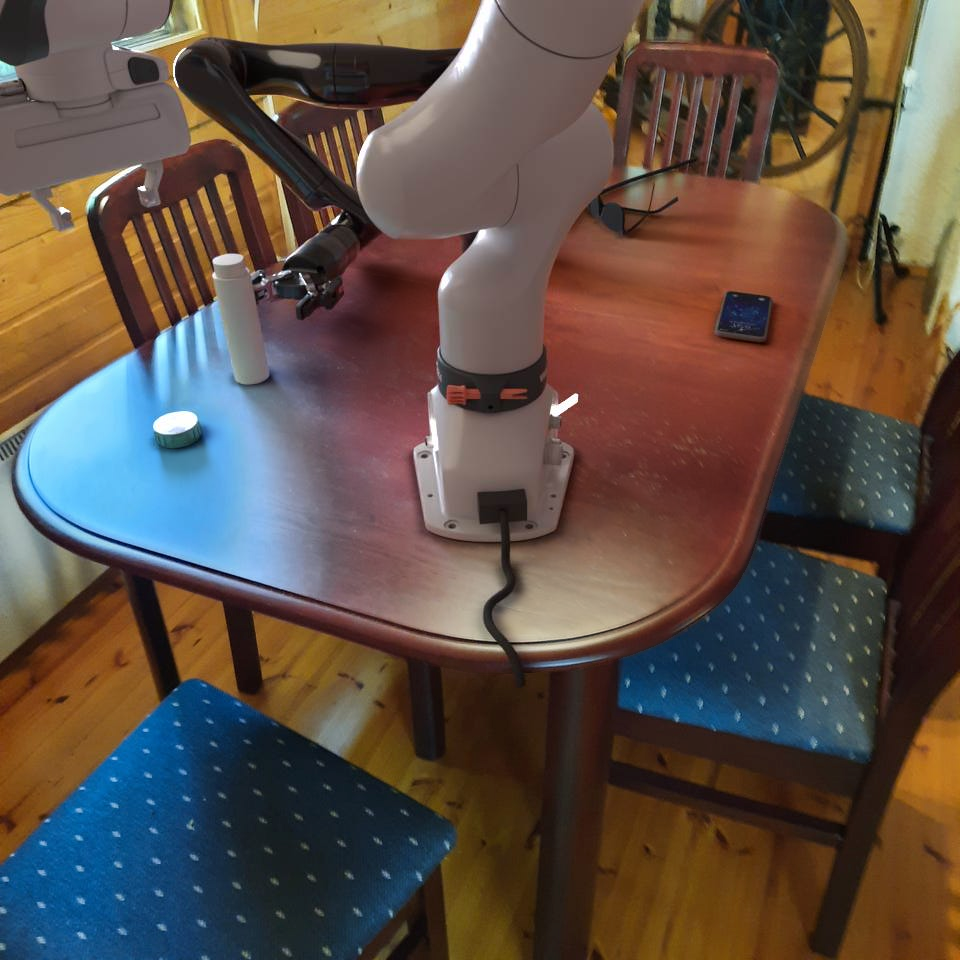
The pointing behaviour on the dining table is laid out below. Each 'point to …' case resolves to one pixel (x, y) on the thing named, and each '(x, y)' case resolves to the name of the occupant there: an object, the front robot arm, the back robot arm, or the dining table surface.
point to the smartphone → (744, 316)
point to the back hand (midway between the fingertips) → (270, 311)
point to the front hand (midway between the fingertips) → (109, 216)
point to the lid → (177, 429)
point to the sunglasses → (620, 213)
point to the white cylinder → (240, 319)
